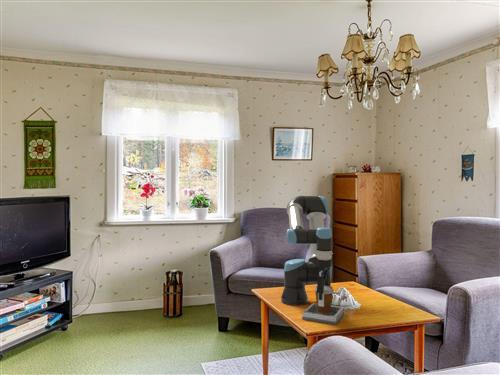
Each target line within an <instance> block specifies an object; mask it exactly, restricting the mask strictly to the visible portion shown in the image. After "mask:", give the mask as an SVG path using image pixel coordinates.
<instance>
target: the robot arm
mask: <svg viewBox="0 0 500 375" xmlns="http://www.w3.org/2000/svg"><path fill="white" fill-rule="evenodd" d="M286 213H287V215H288V222H289V228H288V229H287V230H286V243H288V244H292V245H295V244H298V245H301V244H302V245H303V244H306V245H310V246H309V247H310V257H309V258H308V259H307V261H306V260H305V259H303V258H295V259H290V260H287V261H285V263H284V268H283V271H284V274H283V276H284V278H283V279H284V283H283V290H282V292H281V293H282V294H281V297H280V302H282V303H283V304H285V305H289V306H290V305H292V306H302V305H303V306H304V305H306V304H308V303H309V297H308V293H307V290H306V284H316V286H317V291H316V293H318V306H322V307H324V293H323V291H324V285H325V286H332V284H331V279H332V273H333V263H332V258H333V257H332V255H333V254H334V253H333V251H332V250H333V247H332V244H333V241H332V240H333V233H332V230H333V229H332V228H331V227H326V226H325V220H324V219H326V217H327V215H328V214H329V205H328V200H327V198H326V197H325V196H322V195H299V196H296V197H293V198H292V199H290V200H289V202H288V204H287V206H286ZM304 215H305V216H306V219H307V220H308V221H309V222H308V224H309V229H304V222H303V221H304V220H303V216H304ZM316 293H315V294H316Z"/></svg>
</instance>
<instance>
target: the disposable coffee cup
mask: <svg viewBox="0 0 500 375" xmlns="http://www.w3.org/2000/svg"><path fill="white" fill-rule="evenodd" d="M333 288H334V287H332V285H330V286H325V285H324V291H323V293H324V307H322V306H318V293H316V291H317V285H316V286H315V287H314V293H315V299H316V304H317V311H318V312H320V313H330V310H331V306H332V300H333V293H334V289H333Z"/></svg>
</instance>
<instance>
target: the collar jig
mask: <svg viewBox="0 0 500 375" xmlns="http://www.w3.org/2000/svg"><path fill="white" fill-rule="evenodd" d="M344 316H345V307H344V306H343V307H342V306H336V305H331V310H330V313H320V312H318V311H317V303H313V302H312V303H311V304H310V305H309V306H308V307H306V308H305V310H303V312H302V317H301V319H302V320H305V321H310V322H318V323H322V324H323V323H324V324H330V325H334V326H335V325H338V323H340V321H341V319H342V318H343V317H344Z"/></svg>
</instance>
